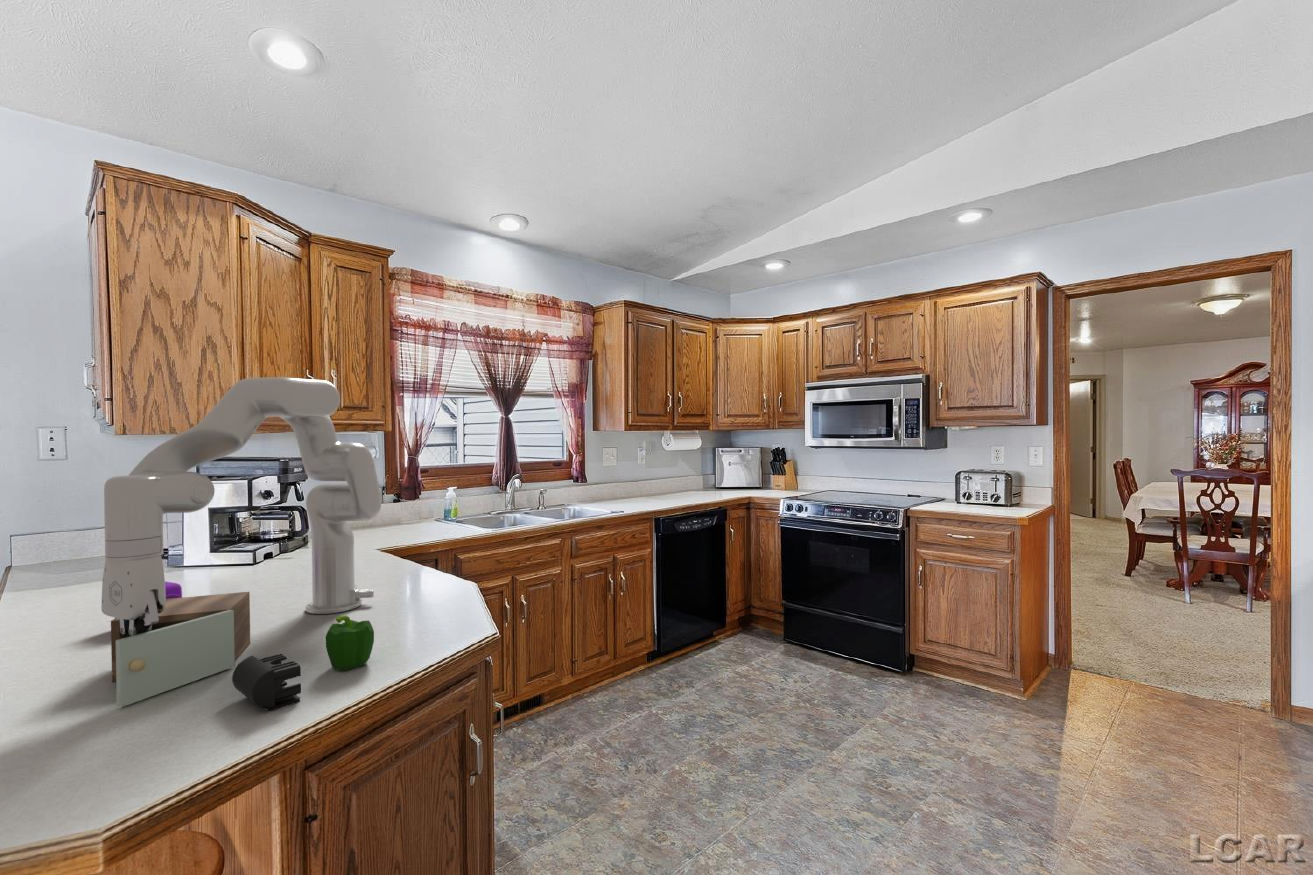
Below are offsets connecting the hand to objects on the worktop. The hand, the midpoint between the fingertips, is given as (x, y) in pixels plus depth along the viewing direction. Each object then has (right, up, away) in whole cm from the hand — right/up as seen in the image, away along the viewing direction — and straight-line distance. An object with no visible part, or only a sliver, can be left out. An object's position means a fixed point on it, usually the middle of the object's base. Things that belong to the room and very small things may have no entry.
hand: (136, 655), depth 103 cm
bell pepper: (+30, -7, +12) cm, 33 cm away
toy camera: (-28, -7, +38) cm, 48 cm away
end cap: (+24, -7, -3) cm, 25 cm away
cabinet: (-3, -7, +15) cm, 17 cm away
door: (+5, -6, +3) cm, 9 cm away
